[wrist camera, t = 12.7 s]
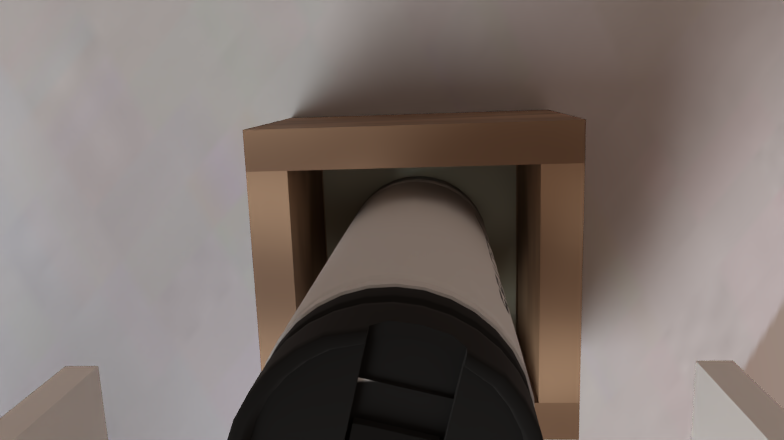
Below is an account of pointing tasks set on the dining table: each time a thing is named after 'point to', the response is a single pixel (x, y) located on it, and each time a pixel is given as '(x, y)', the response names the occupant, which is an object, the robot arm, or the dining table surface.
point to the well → (461, 169)
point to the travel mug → (399, 334)
